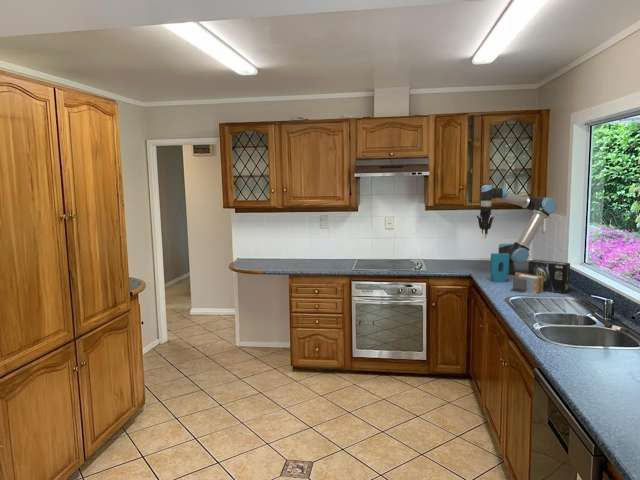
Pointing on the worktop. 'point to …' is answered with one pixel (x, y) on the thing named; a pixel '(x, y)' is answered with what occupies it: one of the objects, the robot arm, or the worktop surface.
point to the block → (494, 266)
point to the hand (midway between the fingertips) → (484, 238)
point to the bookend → (519, 285)
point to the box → (551, 274)
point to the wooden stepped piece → (538, 282)
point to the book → (528, 282)
